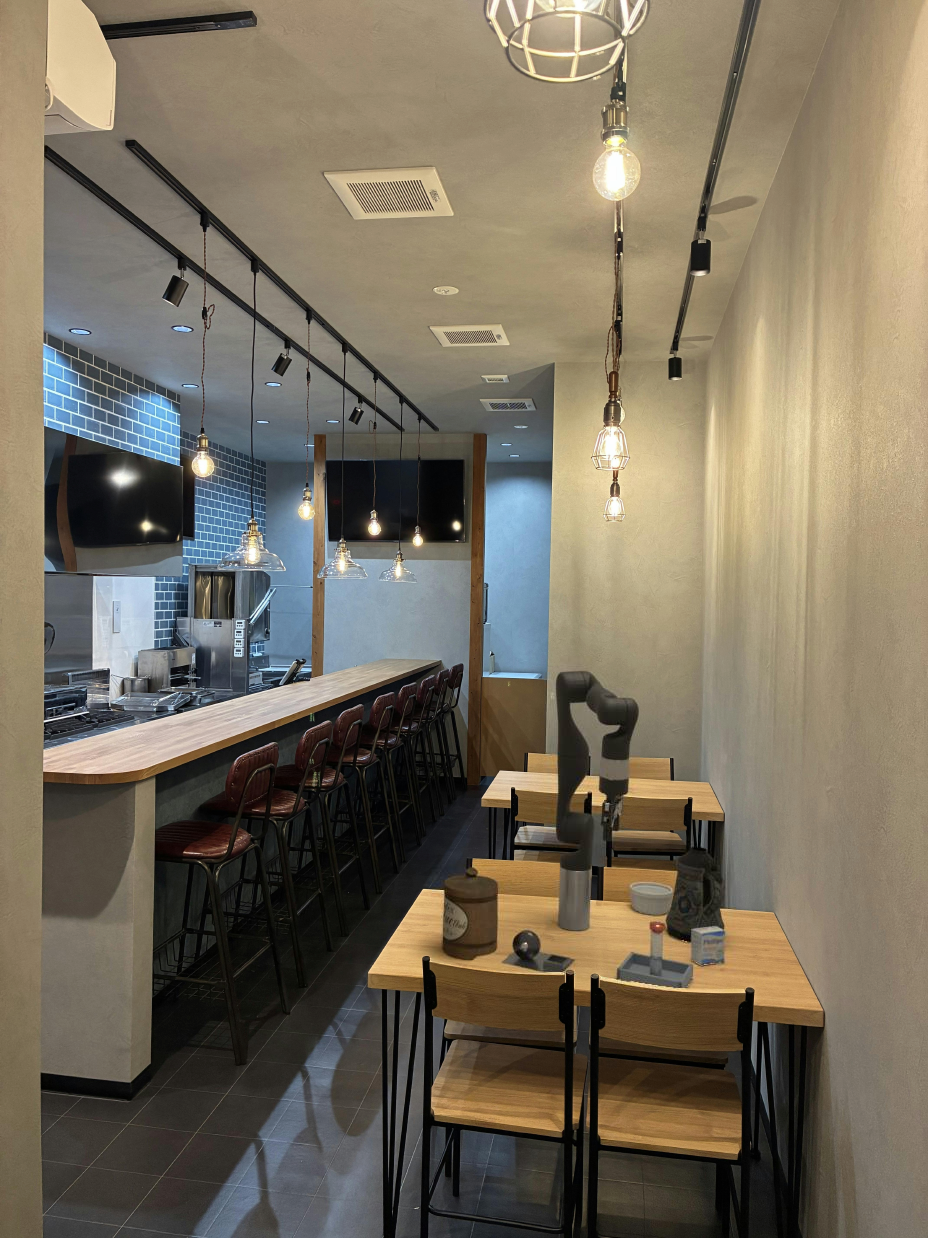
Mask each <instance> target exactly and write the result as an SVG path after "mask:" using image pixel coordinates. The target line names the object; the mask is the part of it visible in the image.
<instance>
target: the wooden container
mask: <svg viewBox="0 0 928 1238" xmlns="http://www.w3.org/2000/svg"><path fill="white" fill-rule="evenodd" d="M478 873H479V871H478V870H477V869H476V868H475V867H472V866H470V867H468V868H467V869H466V870H465V875H463V874H462V875H455V876H451V877H448V878H447V879H445V880H444V883H443V884H444V885H443V893H444V894H443V895H444V896H443V913H442V951H443V952H444V953H445V954H446V955H448V956H449V957H452V958H456V959H461V960H470V961H473V960H475V959H477V958H478V957H483V956H488V955H490V954H493V953H495V952H496V950H498V931H499V929H498V928H499V925H498V923H499V922H498V918H499V916H498V912H499V911H498V910H499V909H498V908H499V907H498V905H499V904H498V903H499V902H498V901H499V900H498V899H499V897H498V895H499V882H497V880H496V879H494V878H491V877H489V876H488V877H487V876H482V875H479V874H478Z"/></svg>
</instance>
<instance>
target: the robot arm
mask: <svg viewBox="0 0 928 1238" xmlns="http://www.w3.org/2000/svg"><path fill="white" fill-rule="evenodd" d="M556 676H557V677H556V679H555V697H556V713H557V752H556V753H557V754H556V755H557V803H556V816H555V819H556V820H555V836H556V838H557V840H558V841H559V842H560V843H563V844H571V845H579V849H578V850H576V851H574V852H573V851H572V852H568V853H564V854H563V855H561V856H560V859H559V883H558V884H559V885H558V886H559V887H558V911H557V914H558V915H557V924H558V926H559V927H560V928H562V929H565V930H569V931H584V930H588V929H589V928H590V922H591V920H590V918H591V888H592V883H591V882H592V862H593V847H594V837H595V836H594V835H595V819H594V816H593V815H592V814H590V813H587V812H577V811H571V810H570V807H571V801H572V798H573V797H574V795H575V793H576V791H577V789H578V788H579V786H581V784H582V782H583V781H584V779H585V778H586V777H587V775H588V773H589V770H590V748H589V745H588V742H587V740H586V739H585V737H584V736H583V734H582V732H581V731H580V729H579V727H578V726H577V724H576V723H575V721H574V718H573V716H572V712H571V704H580V703H581V704H582V703H584V704H585V703H586V706H587V707H588V708H589V710H590V711H591V712H593V713H595V714H596V717H597V720H598V721H599V723H600V724H601V725H605V726H619V727H618V729H617V730H615V731H613V732H609V733H606V734H604V735H603V737H602V741H601V742H602V743H601V757H600V758H601V759H600V763H599V778H598V779H599V780H598V791H599V793H601V794H604V795H605V796H606V797H605V799H604V800H603V802H602V804H601V818H600V820H601V821H600V826H602V827H603V830H602V831H603V832H602V840H603V841H605V842H612V840H613V832H619V831H620V819H621V816H622V813H623V806H624V805H623V803H624V796H626V795H627V794H628V793H629V783H630V781H629V780H630V747H631V740H632V737H633V733H634V731H635V727H636V725H637V722H638V719H639V713H640V710H639V709H640V708H639V705H638V703H637V701H636V700H635V699H634V698H631V697H618V696H617V695H616V694H614V693H613V692H611V691H610V690H608V689H606V688H605V687H604V686H603V685H602V684H601V683H600V681H599V680H598V679H597V678H596V676H595V675H594V674H593V673H591V672H589V671H587V670H575V671H573V670H572V671H561V672H559V673H558V674H557V675H556ZM607 819H608V821H607Z"/></svg>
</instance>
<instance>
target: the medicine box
mask: <svg viewBox="0 0 928 1238" xmlns="http://www.w3.org/2000/svg"><path fill="white" fill-rule="evenodd" d="M725 943H726V931H725V929H724V930H723V929H721V928H719V927H717V926H710V927H703V928H695V929H691V943H690V961H691V960H693V961H694V962H693V961H692V962H693V963H695V962H697V963H698V964H700V965H704V964H710V963H718V964H720V963H719V962H723V963H725V951H726V950H725V947H726V945H725ZM697 963H696V964H697ZM698 964H697V965H698ZM700 965H699V966H700Z"/></svg>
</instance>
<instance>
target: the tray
mask: <svg viewBox="0 0 928 1238" xmlns="http://www.w3.org/2000/svg"><path fill="white" fill-rule="evenodd" d="M649 973H650V955H647V954H642V953H639V952H638V953H637V952H633V951H631V952H630V953H629V954H628V955H627V956H626V958H624V960H623V961H622V962H621V964H620V965H619V966H618V967H617V969H616V980H618V979H621V980H620V981H622V980H626V981H625V982H627V981H634V982H639V983H645V984H652V985H658V986H666V987H673V988H687V989H688V987H689V986H688V984H689V983H690V984H691V982H692V981H691V979H692V977H693V978H694V964H693V963H692V964H691V963H687V962H681V961H677V960H673V959H667V958H663V957H662V977H658V976H653V975H649ZM692 980H693V979H692ZM690 981H691V982H690ZM690 984H689V985H690ZM687 986H688V987H687Z"/></svg>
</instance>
